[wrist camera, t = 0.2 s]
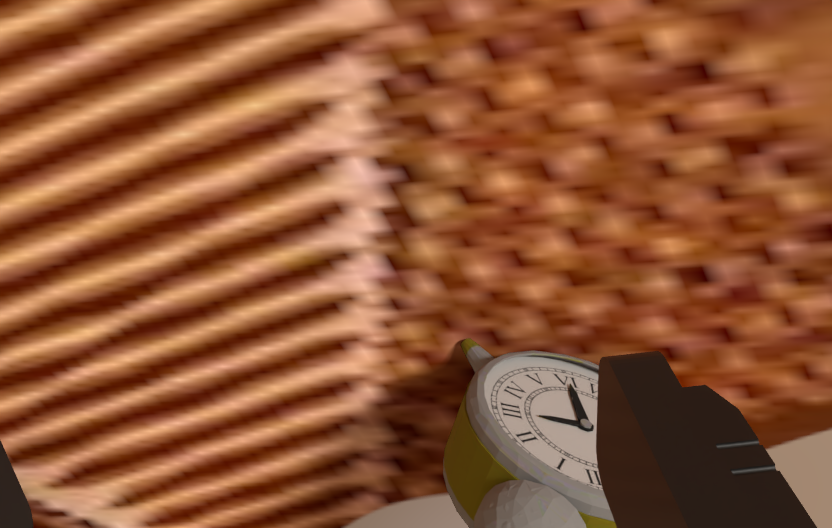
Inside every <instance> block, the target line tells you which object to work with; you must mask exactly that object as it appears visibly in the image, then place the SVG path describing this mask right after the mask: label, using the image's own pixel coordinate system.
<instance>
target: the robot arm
mask: <svg viewBox="0 0 832 528" xmlns="http://www.w3.org/2000/svg"><path fill="white" fill-rule="evenodd" d="M596 455H597V464H598V470H599V476H600V480H601V484H602V488H603V491H604V494H605V497H606V500H607V502H608V505H609V508H610V510H611V513H612V516H613V518H614V521H615V524H616V526H617V528H817V527H816V525H815V524H814V522H813V521H812V519H811V518H810V516H809V515H808V513H807V512H806V510H805V509H804V507H803V506H802V504H801V503H800V501H799V500H798V498H797V497H796V495H795V494H794V492H793V491H792V489H791V488H790V486H789V485H788V483H787V482H786V480H785V479H784V477H783V476H782V474H781V472H780V471H776V469H775V463H774V462H773V460H772V459H771V457H770V456H769V455H768V453H767V451H766V450H765V448H764V447H763V445H759V442H758V438H757V436H756V435H755V433H754V432H753V430H752V429H751V427H750V426H749V424H748V423H747V421H746V420H745V418H744V417H743V415H742V414H741V412H740V411H739V409H738V408H736V407H735V406H734V405H732V404H731V403H730V402H728V401H727V400H725V399H724V398H723V397H721V396H720V395H719V394H717V393H716V392H714V391H713V390H712V389H710V388H709V387H708V386H706V385H701V386H692V387H683V388H682V386H681V385H680V383H679V381H678V379H677V378H676V376H675V374H674V373H673V371H672V369H671V368H670V366H669V364H668V362H667V361H666V359H665V357H664V356H663V355H662V354H661V353H660V352H659V351H654V352H645V353H635V354H626V355H617V356H608V357H602V358H601V360H600V363H599V371H598V400H597V430H596ZM0 528H33V519H32V514H31V509H30V507H29V504H28V502H27V499H26V497H25V495H24V493H23V490H22V488H21V486H20V484H19V481H18V479H17V477H16V475H15V472H14V470H13V468H12V466H11V463H10V461H9V459H8V457H7V454H6V452H5V450H4V448H3V445H2V443H1V441H0Z"/></svg>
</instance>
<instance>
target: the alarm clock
mask: <svg viewBox="0 0 832 528" xmlns="http://www.w3.org/2000/svg"><path fill="white" fill-rule="evenodd" d="M461 347H462V349H463V351H464V353H465V356H466V358H468V360H469V362H470V364H471V366H472V368H473V370H474V372H475V374H474V376H473V378H472V380H471V381H470V382H469V384H468V386H467V389H466V392H465V395H464V397H463V400H462V403H461V406H460V408H459V411H458V414H457V416H456V419H455V422H454V425H453V427H452V430H451V433H450V436H449V438H448V441H447V444H446V447H445V450H444V459H443V475H444V479H445V484H446V488H447V491H448V493H449V495H450V497H451V499H452V501H453V504H454V506H455V508H456V510H457V512H458V513H459V515H460V516H461V517H462V519H463V520H464V521H465V523H466V524H467V525H468V527H469V528H617V526H616V524H615V521H614V518H613V516H612V513H611V510H610V508H609V505H608V502H607V500H606V497H605V494H604V491H603V488H602V484H601V480H600V476H599V470H598V464H597V455H596V430H597V400H598V371H599V366H598V365H596V364H594V363H592V362H589V361H586V360H582V359H579V358H575V357H571V356H568V355H564V354H556V353H549V352H541V351H524V352H513V353H508V354H504V355H501V356H499V357H497V358H494V357H493V356H491V355H490V354H489V353H488V352H486V351H485V350H484V349H483V348H481V347H480V346H479V345H478V344H477V343H476V342H474V341H473V340H472V339H470V338H469V339H465V340H464V341H463V342H462V343H461Z"/></svg>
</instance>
